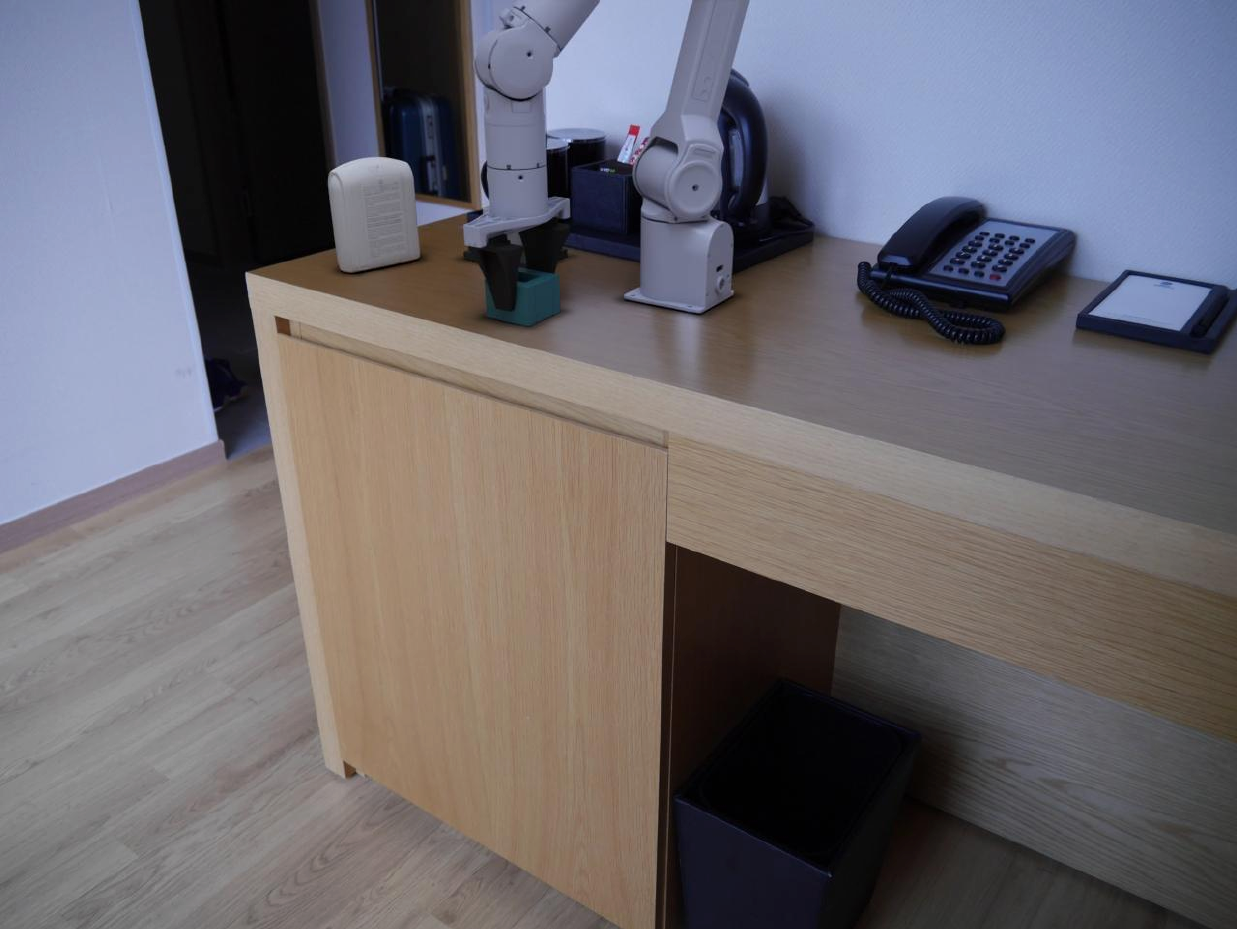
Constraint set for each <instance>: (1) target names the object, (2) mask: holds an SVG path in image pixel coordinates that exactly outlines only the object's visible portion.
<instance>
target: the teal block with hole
mask: <svg viewBox="0 0 1237 929" xmlns="http://www.w3.org/2000/svg"><path fill="white" fill-rule="evenodd" d="M484 291H485V293H484V294H485V305H486V306H485V307H486V318H489V319H494V320H498V321H503V322H507V323H511V324H515V325H520V326H524V327H531V326H533V325H535V324H538V323H539V322H542V321H544V320H546V319H548V318H551V317H552V316H555V315H557V314H559V313H561V294H560V292H561V290H560V274H557V273H555V274H552V273H547V272H542V271H537V270H531V269H526V268H521V267H519V268H518V275H517V298H516V306H515V310H514V311H512V312H508V311H504V310H499V309H496V308H495V305H494V302H493V299H492V296H491V293H490V290H489V287H488V284H487V281H486V279H485V278H484Z"/></svg>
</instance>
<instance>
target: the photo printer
mask: <svg viewBox="0 0 1237 929" xmlns="http://www.w3.org/2000/svg"><path fill="white" fill-rule="evenodd" d="M327 187H328V195H329V204H330V213H331V219H332V220H331V221H332V227H333V236H334V243H335V251H336V258H337V264H338V266H339V270H341V271H343V272H345V273H350V274H351V273H352V274H353V273H356V272H361V271H368V270H371V269H377V268H381V267H386V266H391V265H397V264H400V263H406V262H410V261H416V260H418V259H419V258H420V257H421V248H420V239H419V238H420V237H419V227H418V216H417V214H418V213H417V205H416V204H417V203H416V193H415V180H414V175H413V171H412V169H411V166H410V165H409V163H408V162H406V161H404V160H400V159H396V158H391V157H386V156H385V157H384V156H370V157H369V156H368V157H362V158H357V159H354V160H351V161H348V162H345V163H342V164H341V165H339V166H337V167H335V168H334V169H332V170H330V172H329V173H328V178H327Z"/></svg>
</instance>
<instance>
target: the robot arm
mask: <svg viewBox="0 0 1237 929" xmlns="http://www.w3.org/2000/svg"><path fill="white" fill-rule="evenodd" d="M750 1H751V0H691V4H690V7H689V8H690V9H689V11H688V17H687V20H686V25H685V28H684V33H683V37H682V41H681V45H680V49H679V53H678V56H677V61H676V64H675V65H676V66H675V70H674V73H673V78H672V81H671V86H670V89H669V95H668V98H667V103H666V107H665V110H664V111H663V112H662V114H661V116H659V117H658V119H656V121H655V122H654V123H653V125H652V126H651V128H650V130H649V136H648V139H647V141H646V142H645V145H644V147H643V148H642V149H641V150H640V151H639V153H638V154H637V155H636V158H635V160H634V162H633V166H632V174H631V175H632V182H633V185H634V187H635V189H636V191H637V192H638V194H639V195H640V196H641V197H642V205H641V208H640V256H639V257H640V258H639V259H640V260H639V263H640V268H639V271H640V272H639V273H640V274H639V287H637V288H634V289H633V290H629V291H628V292H625V293H623V294H624V295H623V298H624V299H625V300H628V301H634V302H639V303H643V304H649V305H653V306H659V307H664V308H669V309H674V310H678V311H684V312H689V313H694V314H703V313H704V312H706V311H708V310H709V309H711V308H713V307H715V306H716V305H718V304H721V302H724V301H725V300H727V299H728V298H730V297H733V296H734V295H735V291H734V290H733V289H732V277H733V263H734V262H733V261H734V260H733V259H734V233H733V228H732V226H731V225H730V224H729V223H728V222H725V221H722V220H719V219H716V218H714V217H713V216H711V211H712V210H713V209H714V208H715V207H716V205H717V204H718V202H719V200H720V198H721V195H722V191H723V176H722V170H721V168H722V159H723V154H724V151H725V147H724V144H723V140H722V136H721V134H720V131H719V128H718V121H719V117H720V114H721V110H722V106H723V102H724V98H725V96H726V91H727V87H728V84H729V79H730V75H731V72H732V69H733V64H734V61H735V57H736V54H737V49H738V46H739V43H740V39H741V35H742V31H743V27H744V24H745V19H746V15H747V12H748V8H749V5H750ZM600 2H601V0H516V2H515V3H514V4H513V6H512V7H511V8H510V9H509V8H503V10H502V11H501V13H500V14H499V15H498V18H499V20H500V21H501V22H502V27H497V28H495V29H491V30H490V31H489V32H487V33H486V34H485V35H483V37H482V38H481V40H480V41H479V43H478V44H477V48H476V51H475V53H476V56H475V58H474V59H473V60H472V67H473V70H474V73H475V76H476V78H477V79H478V81H479V82H480V83H481V84H482V86H483V106H484V113H483V123H484V124H483V125H484V126H483V127H484V142H485V157H486V158H485V159H486V171H487V172H486V174H487V186H488V187H487V188H488V189H487V190H488V202H489V203H488V204H489V205H487V206H484V207H483V208H482V214H481V215H480V216H479V217H477V218H475V219H474V220H472V221H469V222H468V223H465V224H463V225H462V230H463V231H462V232H463V243H464V244H463V245H464V246H467V250H469V251H470V252H471V254H472V255H473V256H474V258H475V260H476V261H477V262H476V263H477V264H478V266H479V268H480V270H481V272H482V274H483V276H484V280H485V279H486V281H487V284H488V287H489V290H490V293H491V296H492V299H493V302H494V305H495V308H496V309H499V310H504V311H508V312H512V311H514V310H515V306H516V298H517V275H518V268H519V263H520V259H521V256H522V253H523V250H524V253H525V258H526V264H527V269H531V270H537V271H542V272H547V273H552V274H556V270H557V266H558V262H559V260H558V259H559V256H560V253H561V251H562V248H564V246H565V244H566V242H567V240H568V238H569V237H570V235H571V226H570V224H567V223H561V222H559V219H561V220H566V219H569V218H571V199H570V198H566V197H559V196H552V197H549V195H548V168H547V167H548V166H547V165H548V164H547V140H546V139H547V138H546V136H547V134H546V114H545V106H544V105H545V104H544V102H545V101H544V88H545V87H547V86H548V85H549V84H550V82H551V79H552V77H553V71H554V59H555V58H558V57H559V56H560V54H561V53H562V52H563V50H564V49H565V47H567V45H568V44H569V43H570V42H571V40H572V39H573V37H574V36H575V35H576V33H577V32H578V31H579V30H580V29H581V27H582V26H583V24H584V23H585V22H586V21H587V19H588V18H589V17H590V16H591V14H592V13H593V12H594V10H595V9H596V8H597V6H598V5H599V4H600ZM517 232H518V234H519V236H520V239H521V242H522V245H523V246H522V245H516V244H511V241H510V240H507V238H508V237H507V236H509V235H512V234H515V233H517Z"/></svg>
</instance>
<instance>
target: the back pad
mask: <svg viewBox="0 0 1237 929" xmlns="http://www.w3.org/2000/svg"><path fill="white" fill-rule="evenodd" d="M507 240H510V241H511V244H516V245H522V242H521V239H520V236H519V234H518V232H517V233H515V234H512V235H509V236H507ZM522 246H523V245H522ZM568 252H569V251H568V248H566V247H563V248H562V251H561V253H560V256H559V259H558V261H560V260H562V259H566V258H567V257H568V255H569V253H568ZM462 255H463V257H462V258H463V260H465V261H471V262H476V263H477V261H476V260H475V258H474V256H473V255H472V254H471V252H470V251H469V250H468V249H467V250H463V252H462ZM519 267H521V268H526V269H527V264H526V258H525V253H524V250H523V253H522V256H521V259H520V263H519Z"/></svg>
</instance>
